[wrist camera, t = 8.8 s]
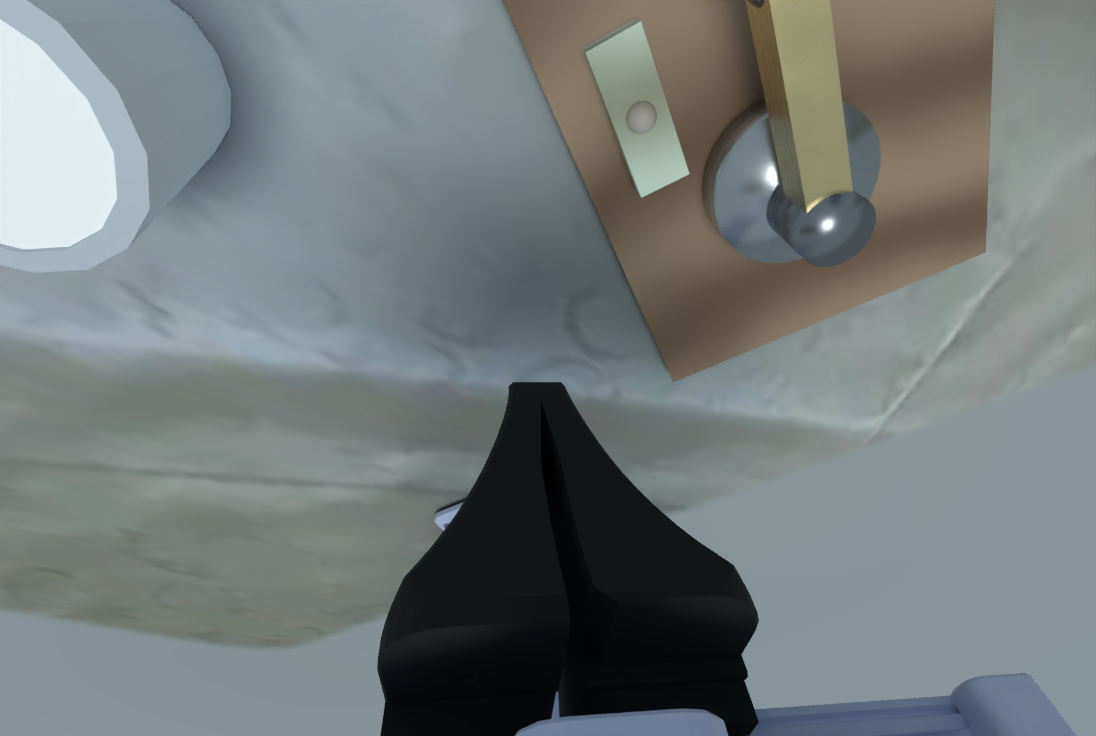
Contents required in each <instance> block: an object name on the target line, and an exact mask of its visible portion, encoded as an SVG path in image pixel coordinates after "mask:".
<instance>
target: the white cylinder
mask: <svg viewBox="0 0 1096 736" xmlns="http://www.w3.org/2000/svg"><path fill="white" fill-rule="evenodd" d="M231 97H232V92H231V90H230V87H229V84H228V81H227V78H226V75H225V72H224V69H223V66H222V63H221V61H220V58H219V55H218V53H217V52H216V51H215V49H214V48H213V46H212V45H211V44H210V42H209V41H208V40H207V38H206V37H205V35H204V34H203V33H202V31H201V30H200V29H199V27H198V26H197V24H196V23H195V22H194V20H193V19H192V18H191V16H189V15H188V14H187V13H185V12H184V11H183V10H182V9H180V8H179V7H178V6H177V5H175V4H174V3H173V2H172V1H170V0H0V265H3V266H8V267H12V268H16V269H20V270H24V271H29V272H33V273H38V272H55V271H71V270H87V269H90V268H92V267H94V266H96V265H98V264H99V263H101V262H103V261H105V260H107V259H109V258H111V257H112V256H114V255H116V254H118V253H120V252H122V251H124V250H125V249H127V248H129V247H130V246H131V245H132V243H133V242H134V241H135V240H136V239H137V238H138V237H139V236H140V235H141V234H142V232H143V231H144V230H145V229H146V228H147V227H148V226H149V225H150V224H151V222H152V221H153V220H154V219H155V218H156V217H157V216H158V215H159V214H160V213H161V211H162V210H163V209H164V208H165V207H166V206H167V205H168V204H169V203H170V202H171V200H172V199H173V198H174V197H175V196H176V195H177V194H178V193H179V192H180V191H181V189H182V188H183V187H184V186H185V185H186V184H187V183H188V182H189V181H190V179H191V178H192V177H193V176H194V175H195V174H196V173H197V172H198V171H199V170H200V168H201V167H202V166H203V165H204V164H205V163H206V162H207V161H208V160H209V159H210V157H211V156H212V155H213V154H214V153H215V152H216V150H217V149H218V147H219V145H220V144H221V142H222V140H223V138H224V137H225V135H226V133H227V131H228V130H229V128H230V123H231Z"/></svg>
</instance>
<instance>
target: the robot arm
mask: <svg viewBox="0 0 1096 736" xmlns="http://www.w3.org/2000/svg"><path fill="white" fill-rule="evenodd" d="M435 523H436V524H437V525H438V526H439V527H440V528H441V529H442V530H443V532H442V534H441V535H440V536H439V538H438V539H437V540H436V542H435V543H434V544H433V545H432V547H431V548H430V549H429V550H428V552H427V553H426V554H425V555H424V556H423V557H422V558H421V559H420V560H419V562H418V563H417V564H416V565H415V566H414V567H413V568H412V569H411V571H410V572H409V573H408V574H407V575H406V576H405V577H404V579H403V581H402V583H401V585H400V587H399V590H398V592H397V594H396V596H395V598H394V601H393V603H392V605H391V608H390V610H389V613H388V616H387V619H386V622H385V625H384V629H383V632H382V637H381V642H380V649H379V656H378V669H377V670H378V674H379V678H380V681H381V685H382V689H383V693H384V697H385V708H384V715H383V722H382V730H381V736H1076V735H1075V733H1074V732H1073V731H1072V730H1071V728H1070V727H1069V726H1068V724H1067V723H1066V721H1065V720H1064V719H1063V717H1061V715H1060V714H1059V712H1058V711H1057V710H1056V708H1055V707H1054V706H1053V705H1052V703H1051V702H1050V700H1049V699H1048V698H1047V696H1046V695H1045V694H1044V692H1043V691H1042V690H1041V689H1040V687H1039V686H1038V685H1037V683H1036V682H1035V681H1034V679H1033V678H1032V677H1031V675H1028V674H1025V673H1020V674H1004V675H989V676H980V677H975V678H972V679H969V680H966V681H965V682H963V683H961V684H960V685H959V686H958V687H956V689H955V690H954V691H953V692H952V694H951V696H939V697H924V698H911V699H896V700H882V701H868V702H854V703H840V704H827V705H826V704H825V705H812V706H799V707H798V706H797V707H784V708H769V709H755V710H754V707H753V704H752V701H751V698H750V696H749V693H748V690H747V687H746V684H745V681H744V680H745V679H746V678H747V677H748V673H747V669H746V667H745V664H744V661H743V658H742V655H741V654H742V653H743V651H744V649H745V647H746V646H747V644H748V642H749V641H750V639H751V637H752V636H753V634H754V632H755V630H756V627H757V624H758V621H759V620H758V614H757V611H756V608H755V606H754V603H753V601H752V599H751V596H750V594H749V592H748V590H747V588H746V586H745V584H744V583H743V581H742V579H741V577H740V576H739V574H738V572H737V570H736V569H735V567H734V565H732V564H731V563H729V562H728V561H727V560H725V559H723V558H722V557H720V556H719V555H717V554H716V553H715V552H713V551H711V550H710V549H709V548H707V547H706V546H704V545H703V544H701V543H700V542H698V541H697V540H695V539H694V538H693V537H692V536H690V535H689V534H688V533H686V532H685V531H684V530H682V529H681V528H680V527H679V526H677V525H676V524H675V523H674V522H673V521H672V520H670V519H669V518H668V517H667V516H666V515H665V514H664V513H662V512H661V511H660V510H659V509H658V508H657V507H656V506H654V505H653V504H652V503H651V502H650V501H649V500H648V499H647V498H646V497H645V496H644V495H643V494H642V493H641V492H640V491H639V490H638V489H637V488H636V487H635V486H634V485H633V484H632V483H631V481H630V480H629V479H628V478H627V477H626V476H625V475H624V474H623V473H622V471H621V470H620V469H619V468H618V467H617V466H616V464H615V463H614V462H613V461H612V459H611V458H610V457H609V455H608V454H607V453H606V452H605V450H604V449H603V448H602V446H601V445H600V444H599V442H598V441H597V439H596V438H595V436H594V435H593V434H592V432H591V431H590V429H589V428H588V426H587V425H586V423H585V422H584V420H583V418H582V417H581V415H580V414H579V412H578V410H577V409H576V407H575V405H574V403H573V402H572V400H571V398H570V396H569V394H568V392H567V390H566V388H565V386H564V385H563V384H562V383H561V382H513V383H512V384H511V385H509V397H508V403H507V408H506V411H505V415H504V419H503V422H502V424H501V427H500V430H499V433H498V436H497V439H496V441H495V443H494V446H493V448H492V450H491V452H490V455H489V457H488V459H487V461H486V464H485V466H484V468H483V470H482V472H481V473H480V475H479V477H478V479H477V481H476V483H475V484H474V486H473V488H472V490H471V491H470V493H469V495H468V496H467V498H466V499H465V501H464V502H462V503H460V504H457V505H455V506H452V507H450V508H447V509H445V510H442V511H440V512H438V513H436V515H435Z"/></svg>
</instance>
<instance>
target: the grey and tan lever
mask: <svg viewBox="0 0 1096 736" xmlns="http://www.w3.org/2000/svg"><path fill="white" fill-rule="evenodd" d="M745 1H746V6H747V11H748V16H749V21H750V26H751V31H752V36H753V41H754V46H755V51H756V56H757V61H758V66H759V71H760V76H761V81H762V86H763V91H764V96H765V98H764V99H762V100H760V101H759V102H757V103H755V104H754V105H752V106H750V107H749V108H748V109H746V110H745V111H744V112H742V113H741V114H740V115H739V116H738V117H737V118H736V119H735V120H734V121H733V122H732V123H731V124H730V125H729V126H728V127H727V128H726V129H725V131H724V132H723V134H722V135H721V136H720V138H719V139H718V141H717V143H716V144H715V146H714V148H713V150H712V152H711V154H710V156H709V159H708V162H707V165H706V168H705V172H704V177H703V189H702V192H703V201H704V206H705V209H706V212H707V215H708V217H709V219H710V220H711V222H712V224H713V225H714V226H715V227H716V229H717V230H718V231H719V232H720V233H721V234H722V236H723V237H724V238H725V239H726V240H727V242H728V243H729V244H730V245H731V246H732V247H733V248H734V249H735V250H736V251H737V252H739V253H740V254H742V255H743V256H745V257H747V258H750V259H752V260H755V261H759V262H764V263H784V262H790V261H794V260H798V259H801V258H803V259H804V260H805V261H806V262H808V263H809V264H811V265H813V266H817V267H832V266H836V265H839V264H841V263H843V262H845V261H847V260H849V259H851V258H852V257H853V256H855V255H856V254H857V253H858V252H860V251H861V250H862V248H863V247H864V246H865V245H866V244H867V242H868V241H869V239H870V238H871V236H872V234H873V231H874V228H875V225H876V212H875V209H874V207H873V205H872V203H871V202H870V201H869V199H870V197H871V195H872V193H873V191H874V188H875V185H876V183H877V179H878V175H879V170H880V163H881V150H880V143H879V139H878V136H877V133H876V130H875V128H874V127H873V125H872V123H871V122H870V120H869V119H868V118H867V117H866V115H864V114H863V113H862V112H861V111H860V110H858V109H857V108H855V107H853V106H851V105H850V104H847V103H845V102H842V96H841V87H840V79H839V70H838V62H837V53H836V45H835V36H834V28H833V20H832V11H831V3H830V0H745Z"/></svg>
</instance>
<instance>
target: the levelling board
mask: <svg viewBox="0 0 1096 736" xmlns="http://www.w3.org/2000/svg"><path fill="white" fill-rule="evenodd" d="M994 1H995V0H830V3H831V11H832V20H833V28H834V36H835V45H836V53H837V62H838V70H839V79H840V87H841V96H842V102H845V103H847V104H850V105H851V106H853V107H855V108H857V109H858V110H860V111H861V112H862V113H863V114H864V115H866V117H867V118H868V119H869V120H870V122H871V123H872V125H873V127H874V128H875V130H876V133H877V136H878V139H879V143H880V150H881V163H880V170H879V175H878V179H877V183H876V185H875V188H874V191H873V193H872V195H871V197H870V199H869V201H870V202H871V203H872V205H873V207H874V209H875V212H876V225H875V228H874V231H873V234H872V236H871V238H870V239H869V241H868V242H867V244H866V245H865V246H864V247H863V248H862V250H861V251H860V252H858V253H857V254H856V255H855V256H853V257H852V258H851V259H849V260H847V261H845V262H843V263H841V264H839V265H836V266H832V267H817V266H813V265H811V264H809V263H808V262H806V261H805V260H804V259H803V258H801V259H798V260H794V261H790V262H784V263H764V262H759V261H755V260H752V259H750V258H747V257H745V256H743V255H742V254H740V253H739V252H737V251H736V250H735V249H734V248H733V247H732V246H731V245H730V244H729V243H728V242H727V240H726V239H725V238H724V237H723V236H722V234H721V233H720V232H719V231H718V230H717V229H716V227H715V226H714V225H713V224H712V222H711V220H710V219H709V217H708V215H707V212H706V209H705V206H704V201H703V192H702V189H703V177H704V172H705V168H706V165H707V162H708V159H709V156H710V154H711V152H712V150H713V148H714V146H715V144H716V143H717V141H718V139H719V138H720V136H721V135H722V134H723V132H724V131H725V129H726V128H727V127H728V126H729V125H730V124H731V123H732V122H733V121H734V120H735V119H736V118H737V117H738V116H739V115H740V114H741V113H742V112H744V111H745V110H746V109H748V108H749V107H750V106H752V105H754V104H755V103H757V102H759V101H760V100H762V99H764V98H765V96H764V91H763V86H762V81H761V76H760V71H759V66H758V61H757V56H756V51H755V46H754V41H753V36H752V31H751V26H750V21H749V16H748V11H747V6H746V1H745V0H503V2H504V4H505V6H506V8H507V11H508V13H509V15H510V17H511V20H512V22H513V24H514V26H515V29H516V31H517V33H518V35H519V37H520V40H521V42H522V44H523V46H524V49H525V51H526V53H527V55H528V58H529V60H530V62H531V64H532V67H533V69H534V71H535V73H536V76H537V78H538V80H539V82H540V85H541V87H542V89H543V91H544V94H545V96H546V98H547V100H548V103H549V105H550V107H551V109H552V112H553V114H554V116H555V118H556V120H557V123H558V125H559V127H560V129H561V132H562V134H563V136H564V138H565V141H566V143H567V145H568V147H569V150H570V152H571V154H572V156H573V159H574V161H575V163H576V165H577V168H578V170H579V172H580V174H581V177H582V179H583V181H584V183H585V186H586V188H587V190H588V192H589V194H590V197H591V199H592V201H593V203H594V206H595V208H596V210H597V212H598V215H599V217H600V219H601V221H602V224H603V226H604V228H605V230H606V233H607V235H608V237H609V239H610V242H611V244H612V246H613V248H614V251H615V253H616V255H617V257H618V260H619V262H620V264H621V266H622V269H623V271H624V273H625V275H626V277H627V280H628V282H629V284H630V286H631V289H632V291H633V293H634V295H635V298H636V300H637V302H638V304H639V307H640V309H641V311H642V313H643V316H644V318H645V320H646V322H647V325H648V327H649V329H650V331H651V334H652V336H653V338H654V340H655V343H656V345H657V347H658V349H659V352H660V354H661V356H662V358H663V360H664V363H665V365H666V367H667V369H668V372H669V374H670V376H671V378H672V381H673V382H674V381H677V380H679V379H682V378H684V377H686V376H689V375H691V374H694V373H696V372H698V371H701V370H703V369H706V368H708V367H710V366H713V365H715V364H718V363H720V362H722V361H725V360H727V359H730V358H732V357H734V356H737V355H739V354H742V353H744V352H747V351H749V350H751V349H754V348H756V347H759V346H761V345H763V344H766V343H768V342H771V341H773V340H775V339H778V338H780V337H783V336H785V335H787V334H790V333H792V332H795V331H797V330H799V329H802V328H804V327H807V326H809V325H812V324H814V323H816V322H819V321H821V320H824V319H826V318H828V317H831V316H833V315H836V314H838V313H840V312H843V311H845V310H848V309H850V308H852V307H855V306H857V305H860V304H862V303H864V302H867V301H869V300H872V299H874V298H877V297H879V296H881V295H884V294H886V293H889V292H891V291H893V290H896V289H898V288H901V287H903V286H905V285H908V284H910V283H913V282H915V281H917V280H920V279H922V278H925V277H927V276H929V275H932V274H934V273H937V272H939V271H942V270H944V269H946V268H949V267H951V266H954V265H956V264H958V263H961V262H963V261H966V260H968V259H970V258H973V257H975V256H978V255H980V254H982V253H985V252H986V225H987V197H988V169H989V141H990V113H991V85H992V57H993V29H994Z"/></svg>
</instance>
